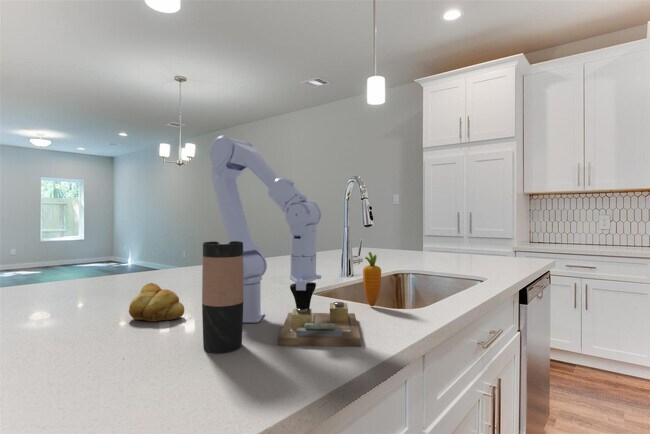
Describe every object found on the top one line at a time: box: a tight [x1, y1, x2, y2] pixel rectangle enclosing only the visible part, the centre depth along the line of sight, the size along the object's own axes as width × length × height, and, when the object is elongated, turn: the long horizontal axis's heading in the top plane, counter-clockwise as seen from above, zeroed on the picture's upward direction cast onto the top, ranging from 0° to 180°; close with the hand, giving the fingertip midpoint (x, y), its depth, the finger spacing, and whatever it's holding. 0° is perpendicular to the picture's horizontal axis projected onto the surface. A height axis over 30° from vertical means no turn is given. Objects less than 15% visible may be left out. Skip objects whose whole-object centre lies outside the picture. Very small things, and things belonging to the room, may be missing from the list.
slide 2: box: [329, 301, 349, 322], centre depth 85 cm, size 4×5×4 cm
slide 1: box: [291, 308, 313, 329], centre depth 80 cm, size 4×5×4 cm
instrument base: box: [277, 312, 362, 347], centre depth 81 cm, size 16×18×4 cm
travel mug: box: [201, 240, 244, 354], centre depth 71 cm, size 8×8×20 cm
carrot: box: [362, 251, 382, 307], centre depth 102 cm, size 5×5×15 cm
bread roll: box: [128, 282, 185, 322], centre depth 90 cm, size 13×10×8 cm
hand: (303, 316), depth 83 cm, fingers closed
